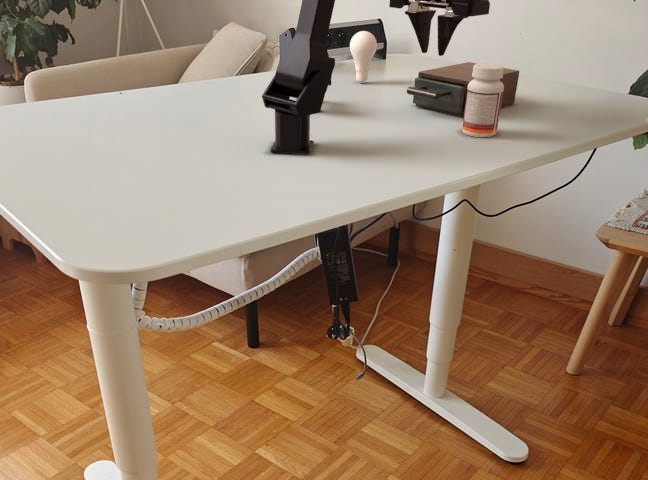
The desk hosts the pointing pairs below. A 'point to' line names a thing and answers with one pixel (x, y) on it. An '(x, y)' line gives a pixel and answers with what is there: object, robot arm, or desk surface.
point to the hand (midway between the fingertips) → (432, 54)
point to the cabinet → (464, 76)
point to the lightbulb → (362, 53)
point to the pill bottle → (483, 100)
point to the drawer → (438, 94)
